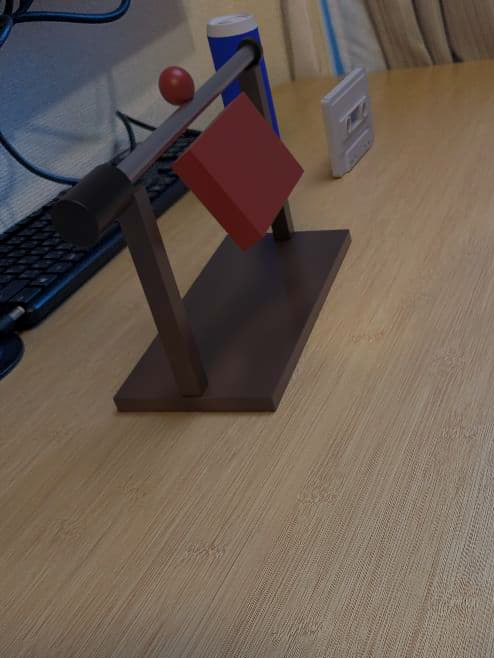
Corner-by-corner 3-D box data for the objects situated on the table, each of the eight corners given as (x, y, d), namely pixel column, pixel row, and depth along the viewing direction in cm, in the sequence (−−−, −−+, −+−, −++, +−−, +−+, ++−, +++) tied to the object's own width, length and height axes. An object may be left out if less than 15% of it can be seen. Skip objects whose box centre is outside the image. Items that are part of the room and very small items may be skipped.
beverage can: (267, 161, 94) (234, 10, 84) (296, 169, 91) (265, 13, 81) (232, 177, 92) (193, 23, 82) (260, 186, 89) (223, 27, 79)
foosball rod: (176, 354, 48) (17, 193, 43) (308, 150, 72) (216, 28, 66) (205, 333, 47) (45, 164, 41) (330, 132, 70) (238, 6, 65)
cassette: (364, 138, 96) (354, 65, 91) (379, 138, 96) (369, 65, 91) (328, 178, 88) (315, 101, 83) (344, 178, 88) (332, 100, 83)
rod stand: (117, 412, 60) (28, 202, 49) (229, 246, 78) (182, 69, 68) (275, 411, 57) (217, 192, 47) (351, 241, 76) (322, 57, 66)
